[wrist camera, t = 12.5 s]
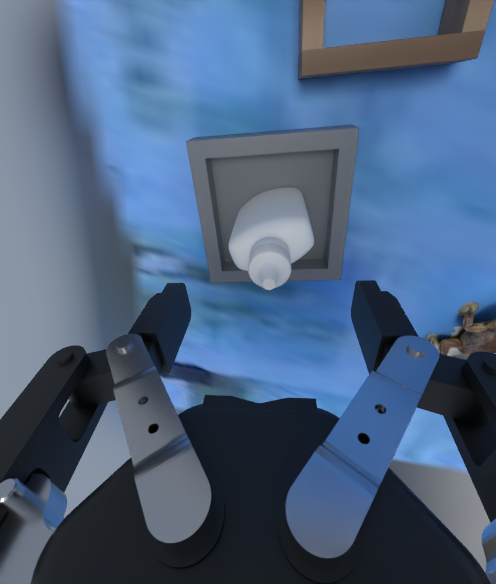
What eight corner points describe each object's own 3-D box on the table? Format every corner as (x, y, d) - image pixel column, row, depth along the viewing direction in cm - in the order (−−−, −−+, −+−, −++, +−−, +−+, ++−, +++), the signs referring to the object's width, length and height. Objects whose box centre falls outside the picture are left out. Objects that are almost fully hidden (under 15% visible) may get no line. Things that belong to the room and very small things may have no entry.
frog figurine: (446, 278, 28) (468, 301, 25) (557, 304, 28) (592, 329, 25) (389, 355, 34) (401, 381, 31) (481, 375, 35) (501, 402, 32)
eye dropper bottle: (298, 237, 26) (311, 324, 16) (237, 228, 26) (212, 309, 16) (310, 188, 23) (335, 255, 13) (242, 178, 23) (217, 236, 13)
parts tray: (194, 137, 22) (186, 141, 20) (351, 124, 21) (359, 127, 19) (215, 269, 29) (211, 282, 27) (335, 266, 28) (340, 279, 26)
